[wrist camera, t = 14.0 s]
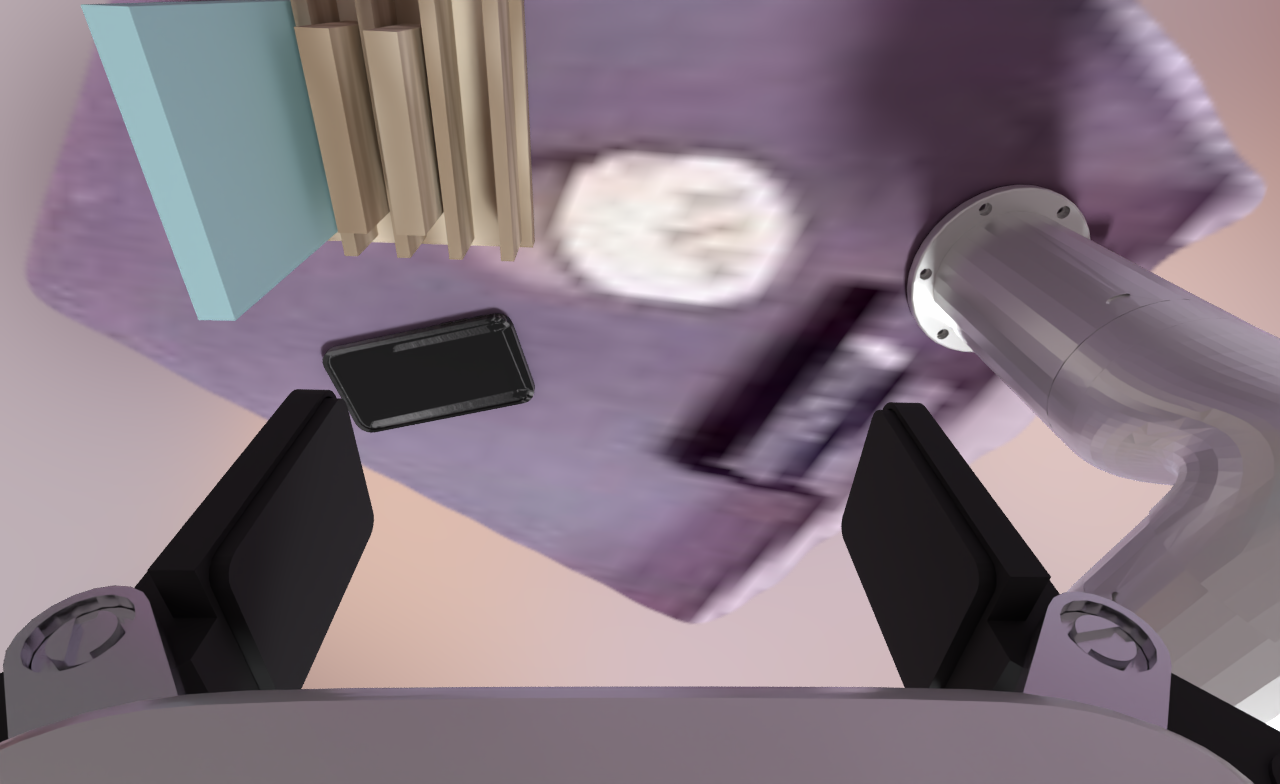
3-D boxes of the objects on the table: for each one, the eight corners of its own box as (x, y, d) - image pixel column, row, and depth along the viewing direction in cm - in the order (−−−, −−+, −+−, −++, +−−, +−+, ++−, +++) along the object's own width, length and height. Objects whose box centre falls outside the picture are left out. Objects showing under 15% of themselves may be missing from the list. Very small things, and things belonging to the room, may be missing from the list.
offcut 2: (432, 25, 36) (396, 31, 30) (452, 200, 41) (425, 235, 36) (404, 23, 36) (362, 30, 30) (427, 199, 41) (396, 234, 35)
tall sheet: (315, -1, 35) (128, 6, 22) (358, 213, 42) (235, 320, 28) (285, -2, 35) (80, 4, 22) (333, 212, 42) (198, 319, 28)
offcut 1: (375, 22, 36) (328, 28, 30) (403, 198, 41) (367, 233, 35) (347, 20, 36) (293, 26, 30) (378, 197, 41) (338, 232, 35)
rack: (522, -33, 36) (509, -36, 31) (534, 241, 44) (525, 269, 40) (249, -48, 35) (197, -54, 31) (316, 233, 44) (282, 261, 39)
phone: (537, 400, 51) (361, 435, 52) (538, 392, 52) (366, 427, 53) (506, 313, 46) (316, 353, 48) (508, 306, 47) (321, 346, 49)
